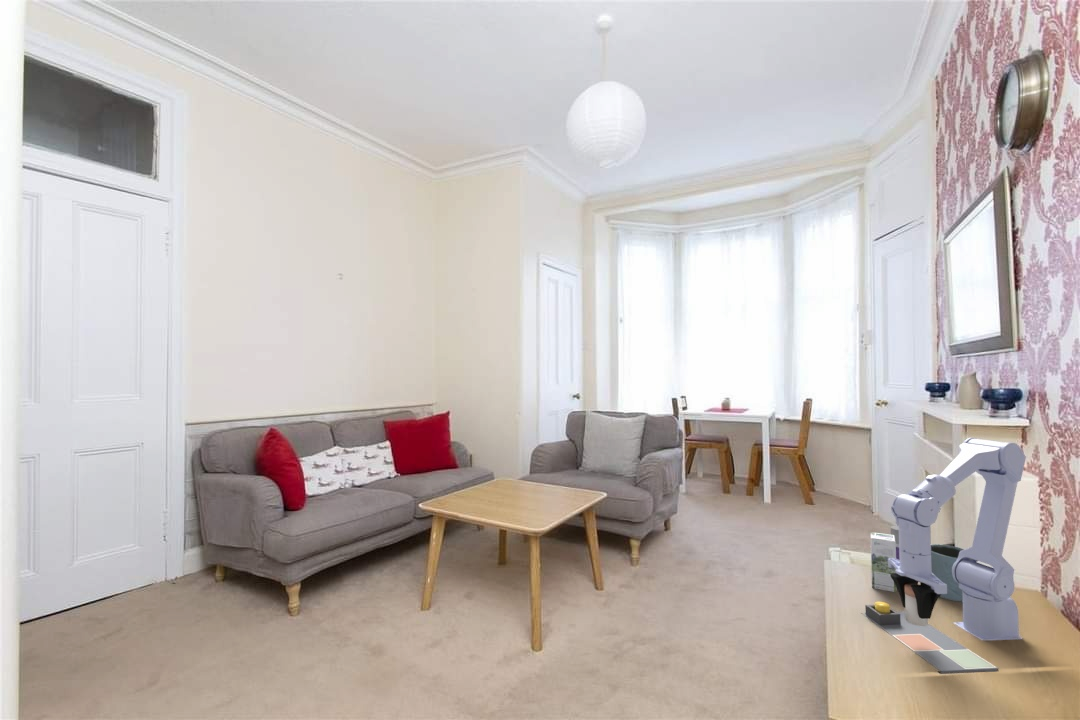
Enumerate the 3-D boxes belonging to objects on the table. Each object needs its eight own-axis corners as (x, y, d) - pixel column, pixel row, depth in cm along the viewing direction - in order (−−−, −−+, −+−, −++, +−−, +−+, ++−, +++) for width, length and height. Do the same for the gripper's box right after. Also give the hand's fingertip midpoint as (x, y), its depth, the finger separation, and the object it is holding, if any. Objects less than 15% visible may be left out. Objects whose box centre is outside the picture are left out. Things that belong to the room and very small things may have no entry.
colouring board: (908, 613, 127) (908, 610, 127) (998, 671, 103) (998, 667, 103) (861, 615, 127) (860, 612, 127) (940, 673, 103) (940, 670, 103)
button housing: (885, 614, 126) (885, 604, 126) (900, 624, 121) (900, 614, 121) (865, 614, 126) (865, 605, 126) (879, 625, 121) (879, 614, 121)
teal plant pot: (925, 585, 143) (923, 541, 143) (971, 592, 137) (970, 547, 138) (930, 599, 134) (929, 553, 134) (980, 608, 129) (979, 560, 129)
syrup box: (896, 586, 142) (894, 534, 142) (897, 594, 137) (895, 540, 137) (871, 582, 145) (870, 530, 145) (871, 590, 140) (870, 536, 140)
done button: (884, 612, 125) (884, 601, 125) (893, 618, 122) (893, 607, 122) (872, 612, 125) (872, 601, 125) (881, 618, 122) (880, 607, 122)
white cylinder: (917, 616, 115) (917, 583, 115) (933, 626, 111) (933, 591, 111) (900, 617, 115) (899, 583, 115) (915, 627, 111) (914, 592, 111)
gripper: (874, 540, 120) (876, 598, 120) (923, 564, 106) (924, 630, 106) (903, 539, 120) (905, 597, 120) (956, 562, 106) (957, 629, 106)
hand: (916, 612), depth 113 cm, fingers closed on white cylinder, 4 cm apart
